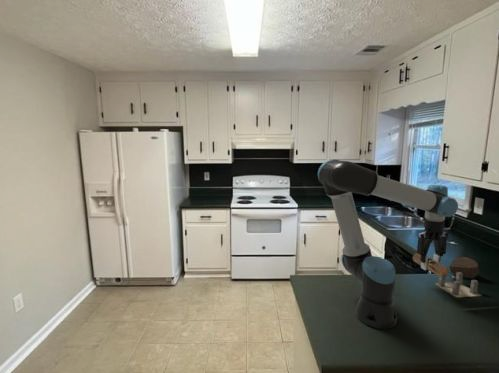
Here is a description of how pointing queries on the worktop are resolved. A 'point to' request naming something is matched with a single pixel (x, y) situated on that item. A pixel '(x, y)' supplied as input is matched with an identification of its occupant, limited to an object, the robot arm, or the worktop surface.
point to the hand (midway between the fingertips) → (429, 268)
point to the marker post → (452, 279)
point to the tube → (433, 266)
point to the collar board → (459, 287)
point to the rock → (464, 267)
